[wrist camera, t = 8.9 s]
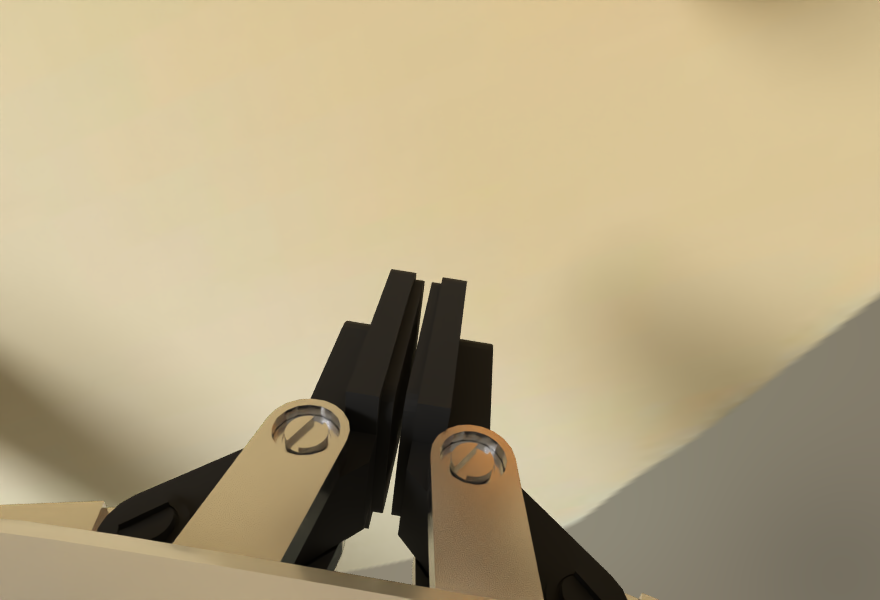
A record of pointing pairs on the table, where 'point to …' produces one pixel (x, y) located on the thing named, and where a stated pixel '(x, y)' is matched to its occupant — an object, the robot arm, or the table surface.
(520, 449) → the table surface
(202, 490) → the robot arm
